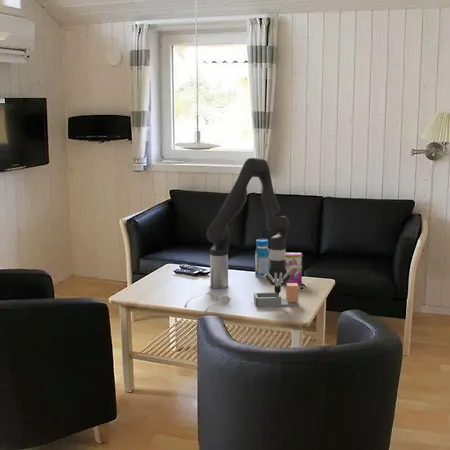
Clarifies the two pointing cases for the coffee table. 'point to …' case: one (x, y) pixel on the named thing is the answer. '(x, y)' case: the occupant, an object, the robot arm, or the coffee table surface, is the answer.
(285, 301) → the chute
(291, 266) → the candy bar box
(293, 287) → the block
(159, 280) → the coffee table surface
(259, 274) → the beverage bottle
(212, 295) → the eyeglasses
